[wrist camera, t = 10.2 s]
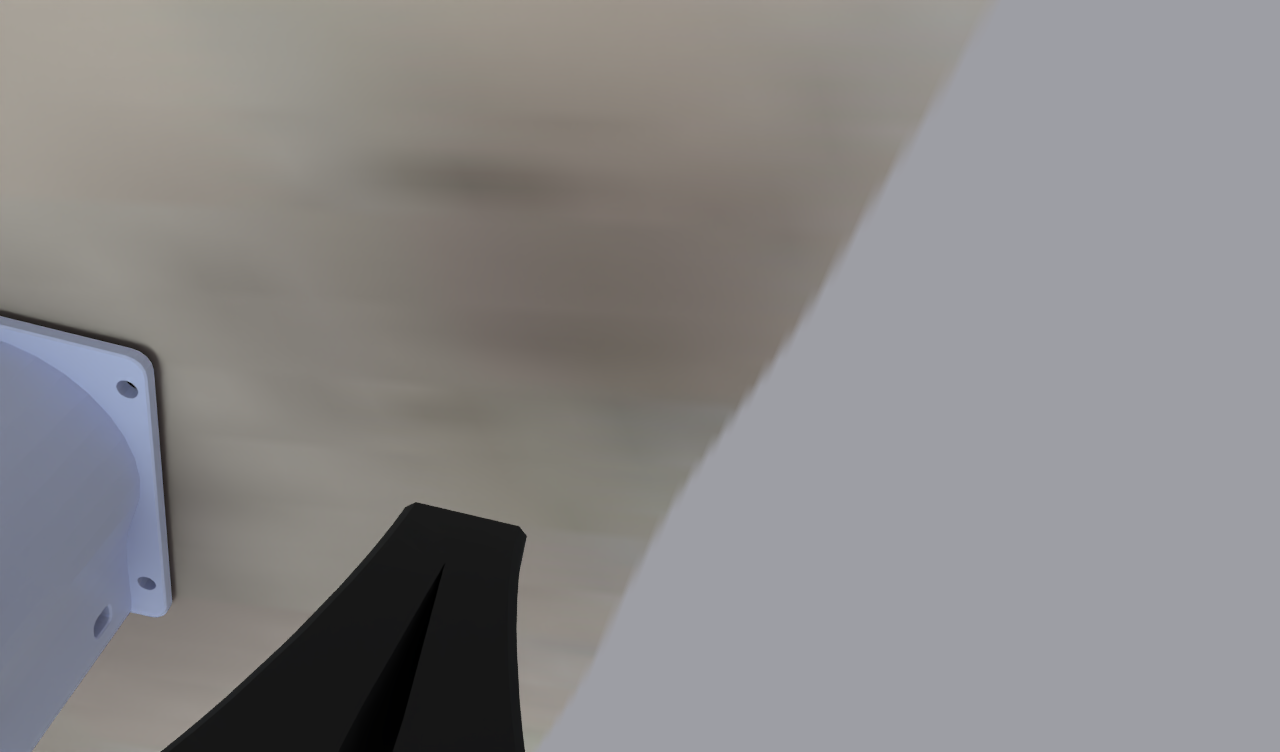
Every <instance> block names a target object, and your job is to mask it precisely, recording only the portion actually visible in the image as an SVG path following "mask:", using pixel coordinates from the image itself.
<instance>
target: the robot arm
mask: <svg viewBox="0 0 1280 752" xmlns="http://www.w3.org/2000/svg"><path fill="white" fill-rule="evenodd" d="M127 381H128V382H130V383H132V384H133V385H134V386H135V387H136V388H137V389H136V388H134V387H132V386H130V385H129V384H128V383H127ZM526 537H527V536H526V534H525V533H524V532H523V531H522V529H521V528H520V527H519V526H515V525H511V524H507V523H502V522H498V521H494V520H490V519H485V518H481V517H477V516H472V515H468V514H464V513H460V512H455V511H451V510H447V509H442V508H438V507H434V506H430V505H425V504H421V503H417V502H416V503H413V504H411V505H409V506H407V507H405V509H404V510H403V511H402V513H401V514H400V515H399V517H398V518H397V519H396V521H395V522H394V523H393V525H392V526H391V527H390V529H389V530H388V531H387V532H386V534H385V535H384V536H383V537H382V539H381V540H380V541H379V542H378V543H377V545H376V546H375V547H374V548H373V549H372V551H371V552H370V553H369V554H368V555H367V556H366V558H365V559H364V560H363V561H362V562H361V563H360V564H359V566H358V567H357V568H356V569H355V570H354V571H353V572H352V573H351V574H350V576H349V577H348V578H347V579H346V580H345V581H344V582H343V583H342V585H341V586H340V587H339V588H338V589H337V590H336V591H335V592H334V593H333V594H332V595H331V596H330V597H329V598H328V599H327V600H326V601H325V602H324V603H323V604H322V605H321V606H320V607H319V608H318V610H317V611H316V612H315V613H314V614H313V615H312V616H311V617H310V618H309V619H308V620H307V621H306V622H305V623H304V624H303V625H302V626H301V627H300V628H299V629H298V630H297V631H296V632H295V633H294V634H293V635H292V636H291V637H290V638H289V639H288V640H287V641H286V642H285V643H284V644H283V645H282V646H281V647H280V648H279V649H278V650H277V651H275V652H274V653H273V654H272V655H271V656H270V657H269V658H268V659H267V660H266V661H265V662H264V663H262V664H261V665H260V666H259V667H258V668H257V669H256V670H255V671H254V672H253V673H252V674H251V675H249V676H248V677H247V678H246V679H245V680H244V681H243V682H242V683H241V684H240V685H239V686H238V687H237V688H235V689H234V690H233V691H232V692H231V693H230V694H229V695H228V696H227V697H226V698H224V699H223V700H222V701H221V702H220V703H219V704H218V705H216V706H215V707H214V708H213V709H212V710H211V711H209V712H208V713H207V714H206V715H205V716H204V717H202V718H201V719H200V720H199V721H198V722H197V723H195V724H194V725H193V726H192V727H191V728H189V729H188V730H187V731H186V732H185V733H183V734H182V735H181V736H180V737H178V738H177V739H176V740H175V741H173V742H172V743H171V744H170V745H169V746H167V747H166V748H165V749H164V750H162V751H161V752H525V749H524V740H523V732H522V722H521V711H520V699H519V681H518V663H517V633H516V624H517V593H518V580H519V571H520V566H521V561H522V556H523V552H524V547H525V542H526ZM171 604H172V593H171V580H170V567H169V555H168V542H167V529H166V517H165V504H164V492H163V479H162V466H161V454H160V441H159V428H158V416H157V403H156V390H155V378H154V369H153V366H152V363H151V362H150V360H149V359H148V358H147V356H145V355H144V354H143V353H141V352H140V351H137V350H135V349H132V348H128V347H124V346H120V345H116V344H112V343H108V342H104V341H100V340H96V339H92V338H88V337H84V336H80V335H76V334H71V333H67V332H63V331H59V330H55V329H51V328H47V327H43V326H39V325H35V324H31V323H27V322H23V321H19V320H15V319H10V318H6V317H2V316H0V752H32V750H33V749H34V747H35V746H36V745H37V743H38V742H39V740H40V739H41V737H42V736H43V735H44V733H45V732H46V730H47V729H48V728H49V726H50V725H51V723H52V722H53V720H54V719H55V718H56V716H57V715H58V713H59V712H60V711H61V709H62V708H63V706H64V705H65V704H66V702H67V701H68V699H69V698H70V696H71V695H72V694H73V692H74V691H75V689H76V688H77V687H78V685H79V684H80V682H81V681H82V679H83V678H84V677H85V675H86V674H87V672H88V671H89V670H90V668H91V667H92V665H93V664H94V662H95V661H96V660H97V658H98V657H99V655H100V654H101V653H102V651H103V650H104V648H105V647H106V646H107V644H108V643H109V641H110V640H111V638H112V637H113V636H114V634H115V633H116V631H117V630H118V629H119V627H120V626H121V624H122V623H123V621H124V620H125V619H126V617H127V616H128V614H129V613H130V612H132V613H136V614H141V615H145V616H149V617H160V616H163V615H165V614H166V613H167V611H168V610H169V608H170V607H171Z"/></svg>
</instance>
